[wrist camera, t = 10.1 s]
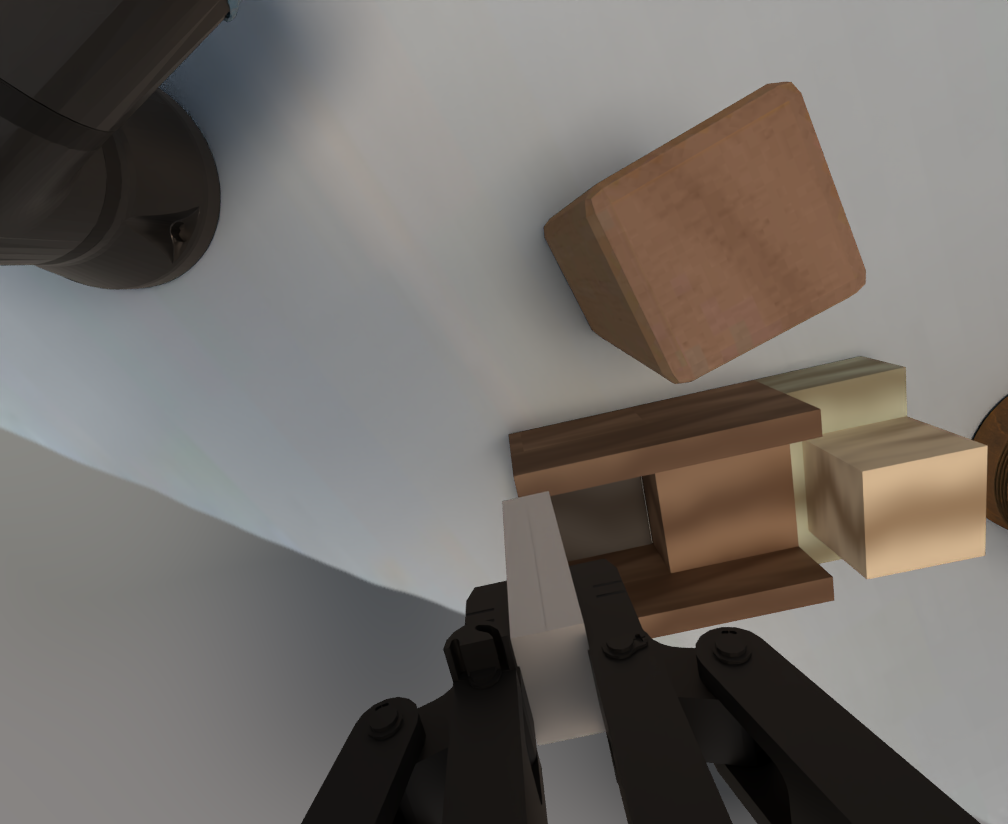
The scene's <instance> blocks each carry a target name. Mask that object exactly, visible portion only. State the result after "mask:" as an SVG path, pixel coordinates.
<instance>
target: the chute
mask: <svg viewBox="0 0 1008 824" xmlns="http://www.w3.org/2000/svg"><path fill="white" fill-rule="evenodd" d="M905 416H907V403H906V367H903V366H899V365H895V364H891V363H887V362H883V361H879V360H875V359H871V358H866V357H862V356H860V357H855V358H851V359H846V360H842V361H837V362H833V363H828V364H824V365H819V366H815V367H810V368H806V369H801V370H797V371H792V372H788V373H783V374H779V375H774V376H770V377H765V378H761V379H756V380H751V381H747V382H742V383H738V384H733V385H729V386H724V387H720V388H715V389H711V390H706V391H702V392H697V393H693V394H688V395H684V396H679V397H675V398H670V399H666V400H661V401H657V402H652V403H648V404H643V405H639V406H634V407H630V408H625V409H621V410H616V411H612V412H607V413H603V414H598V415H594V416H589V417H585V418H580V419H576V420H571V421H567V422H562V423H558V424H553V425H549V426H544V427H540V428H535V429H531V430H526V431H522V432H517V433H513V434H509V443H510V451H511V459H512V468H513V476H514V480H515V485H516V489H517V493H518V497H524V496H528V495H533V494H537V493H542V492H546V491H549V495H550V498H551V502H552V506H553V509H554V513H555V517H556V521H557V524H558V528H559V532H560V536H561V539H562V543H563V547H564V551H565V554H566V558H567V562H568V566H571V565H576V564H581V563H585V562H590V561H595V560H599V559H604V558H605V559H606V560H607V561H609V562H610V563H611V564H613V565H614V566H615V567H617V569H618V572H619V574H620V577H621V579H622V582H623V584H624V586H625V588H626V592H627V593H628V595H629V598H630V600H631V602H632V605H633V607H634V609H635V612H636V614H637V617H638V619H639V621H640V624H641V626H642V628H643V630H644V631H645V632H647V633H648V635H649V636H650V637H651V638H656V637H660V636H665V635H670V634H675V633H680V632H684V631H689V630H694V629H699V628H704V627H708V626H713V625H718V624H723V623H728V622H732V621H737V620H742V619H747V618H752V617H756V616H761V615H766V614H771V613H776V612H780V611H785V610H790V609H795V608H800V607H804V606H809V605H814V604H819V603H823V602H828V601H833V600H834V589H833V577H832V576H831V575H830V574H829V573H828V572H827V571H826V570H824V569H823V568H822V567H821V566H820V565H819V564H820V563H825V562H830V561H834V560H839V559H842V558H841V557H839V556H838V555H837V554H836V553H835V552H833V551H832V550H831V549H830V548H829V547H827V546H826V545H825V544H824V543H823V542H821V541H820V540H819V539H818V538H817V537H815V536H814V535H813V534H812V533H811V532H809V530H808V517H807V503H806V489H805V475H804V461H803V448H802V441H806V440H810V439H815V438H820V437H823V434H824V433H829V432H833V431H838V430H843V429H848V428H852V427H857V426H862V425H867V424H871V423H876V422H881V421H886V420H891V419H895V418H900V417H905ZM641 476H642V480H643V486H644V492H645V498H646V504H647V510H648V516H649V522H650V528H651V534H652V540H653V543H652V542H651V536H650V530H649V524H648V518H647V512H646V506H645V500H644V494H643V488H642V482H641Z"/></svg>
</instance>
